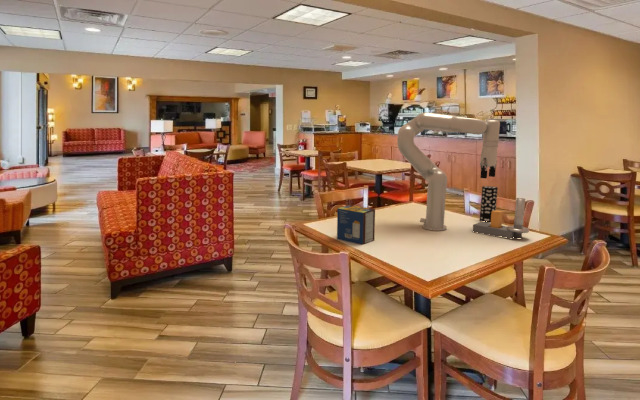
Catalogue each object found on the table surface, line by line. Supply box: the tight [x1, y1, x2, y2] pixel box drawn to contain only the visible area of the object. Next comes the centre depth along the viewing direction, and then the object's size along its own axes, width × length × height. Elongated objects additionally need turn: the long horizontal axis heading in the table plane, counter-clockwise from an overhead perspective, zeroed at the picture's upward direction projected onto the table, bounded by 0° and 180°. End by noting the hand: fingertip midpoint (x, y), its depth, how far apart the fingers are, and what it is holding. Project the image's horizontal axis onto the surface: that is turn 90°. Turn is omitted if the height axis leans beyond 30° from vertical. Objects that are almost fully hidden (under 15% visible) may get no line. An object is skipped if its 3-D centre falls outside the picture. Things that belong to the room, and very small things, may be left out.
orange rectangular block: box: [490, 209, 504, 228], centre depth 216 cm, size 4×4×12 cm
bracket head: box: [472, 221, 514, 238], centre depth 217 cm, size 20×9×4 cm, turn 45°
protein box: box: [336, 204, 376, 245], centre depth 204 cm, size 10×15×16 cm
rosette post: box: [507, 197, 530, 238], centre depth 208 cm, size 10×10×20 cm
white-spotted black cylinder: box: [479, 185, 499, 223], centre depth 245 cm, size 8×8×20 cm
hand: (487, 177), depth 221 cm, fingers open, 9 cm apart
